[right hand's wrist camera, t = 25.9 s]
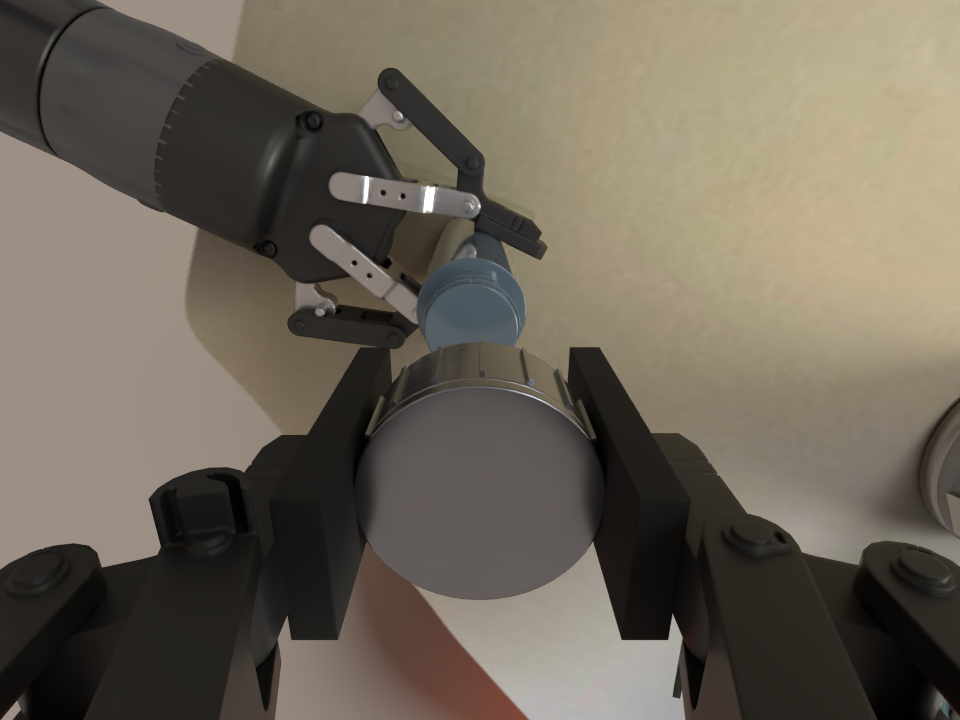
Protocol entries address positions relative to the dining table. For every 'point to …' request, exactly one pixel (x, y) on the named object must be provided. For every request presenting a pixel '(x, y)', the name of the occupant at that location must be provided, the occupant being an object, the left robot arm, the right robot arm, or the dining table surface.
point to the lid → (479, 473)
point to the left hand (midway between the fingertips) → (518, 292)
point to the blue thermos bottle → (470, 290)
